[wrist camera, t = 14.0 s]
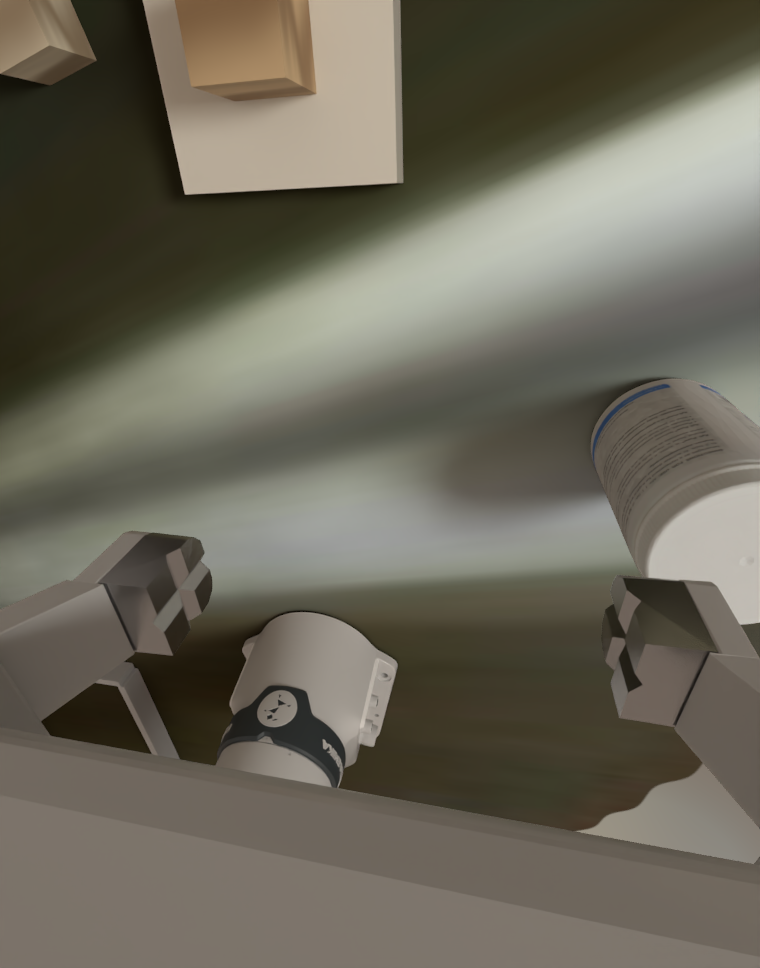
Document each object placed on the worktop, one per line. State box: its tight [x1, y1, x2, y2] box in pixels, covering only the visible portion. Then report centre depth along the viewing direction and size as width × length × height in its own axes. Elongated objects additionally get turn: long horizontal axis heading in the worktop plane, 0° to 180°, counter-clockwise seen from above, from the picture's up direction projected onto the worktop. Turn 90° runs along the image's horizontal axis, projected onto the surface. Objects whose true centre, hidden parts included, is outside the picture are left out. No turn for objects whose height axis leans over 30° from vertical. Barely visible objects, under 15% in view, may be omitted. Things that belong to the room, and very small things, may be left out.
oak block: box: [175, 0, 317, 101], centre depth 24 cm, size 5×5×5 cm
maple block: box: [0, 0, 96, 85], centre depth 29 cm, size 4×4×4 cm
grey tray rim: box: [95, 662, 180, 759], centre depth 74 cm, size 28×26×3 cm
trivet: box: [143, 0, 403, 195], centre depth 28 cm, size 14×14×2 cm
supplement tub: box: [591, 379, 760, 625], centre depth 30 cm, size 10×10×15 cm
